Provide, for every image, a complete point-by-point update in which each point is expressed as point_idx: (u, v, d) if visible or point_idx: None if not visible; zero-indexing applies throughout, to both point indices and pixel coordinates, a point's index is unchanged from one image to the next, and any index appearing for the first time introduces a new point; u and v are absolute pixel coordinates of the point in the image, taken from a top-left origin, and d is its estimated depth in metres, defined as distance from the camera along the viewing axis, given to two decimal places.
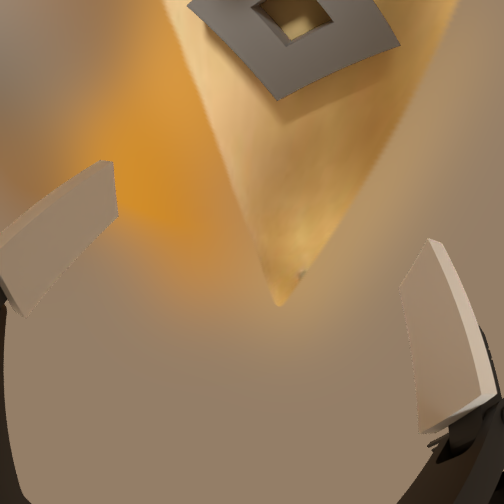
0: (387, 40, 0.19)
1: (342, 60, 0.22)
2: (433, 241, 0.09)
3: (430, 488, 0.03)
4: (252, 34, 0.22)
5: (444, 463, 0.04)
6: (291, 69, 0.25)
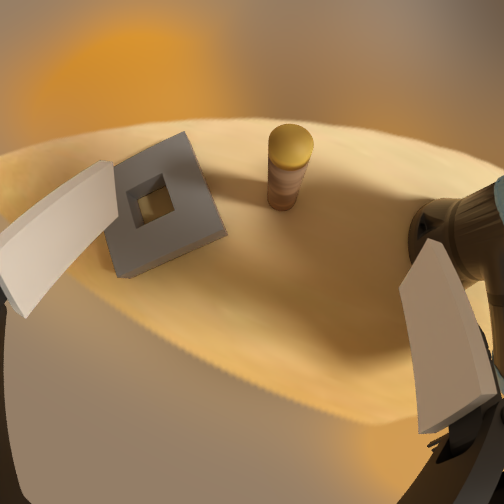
0: (120, 267, 0.35)
1: (109, 231, 0.35)
2: (433, 241, 0.09)
3: (430, 488, 0.03)
4: (141, 170, 0.36)
5: (444, 463, 0.04)
6: None
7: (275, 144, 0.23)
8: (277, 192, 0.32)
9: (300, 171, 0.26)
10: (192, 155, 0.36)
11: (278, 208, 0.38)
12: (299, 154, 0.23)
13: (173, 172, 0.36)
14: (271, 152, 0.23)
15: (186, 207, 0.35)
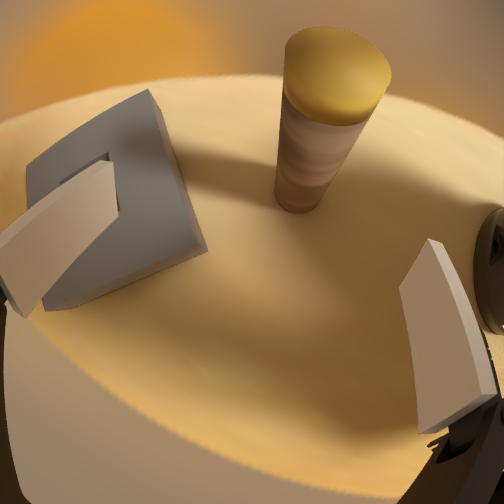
0: (48, 297, 0.20)
1: None
2: (433, 241, 0.09)
3: (430, 488, 0.03)
4: (82, 149, 0.21)
5: (444, 463, 0.04)
6: (41, 184, 0.21)
7: (302, 57, 0.08)
8: (296, 180, 0.16)
9: (355, 132, 0.10)
10: (154, 122, 0.21)
11: (292, 209, 0.22)
12: (363, 82, 0.08)
13: (124, 149, 0.21)
14: (292, 74, 0.08)
15: (138, 205, 0.20)
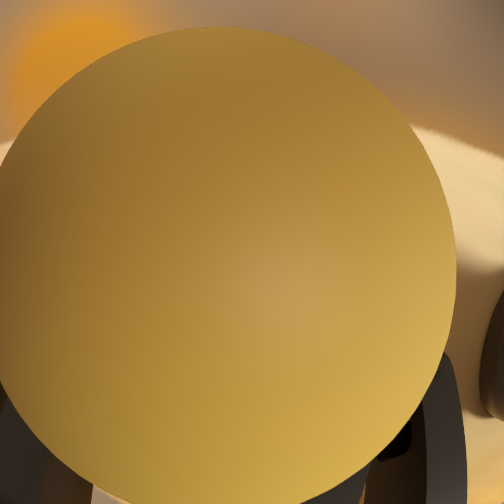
0: None
1: None
2: None
3: None
4: None
5: None
6: None
7: (2, 286, 0.02)
8: None
9: None
10: None
11: None
12: (247, 459, 0.01)
13: None
14: None
15: None
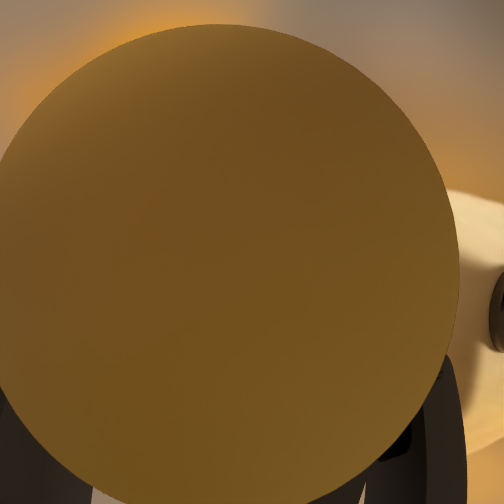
0: None
1: None
2: None
3: None
4: None
5: None
6: None
7: None
8: None
9: None
10: None
11: None
12: (247, 462, 0.01)
13: None
14: None
15: None
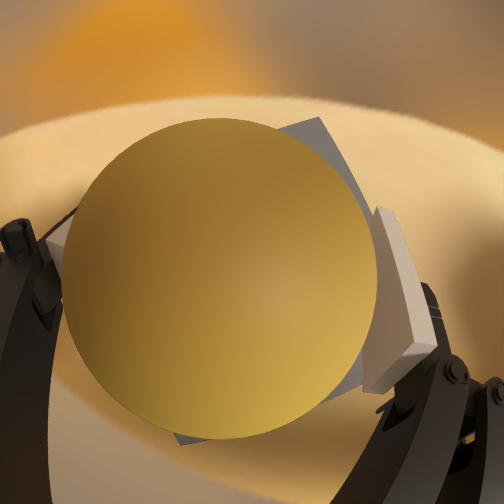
0: None
1: None
2: (382, 209, 0.10)
3: (375, 460, 0.04)
4: None
5: (389, 431, 0.05)
6: None
7: (92, 295, 0.03)
8: None
9: None
10: (350, 176, 0.15)
11: None
12: (257, 389, 0.03)
13: None
14: None
15: None
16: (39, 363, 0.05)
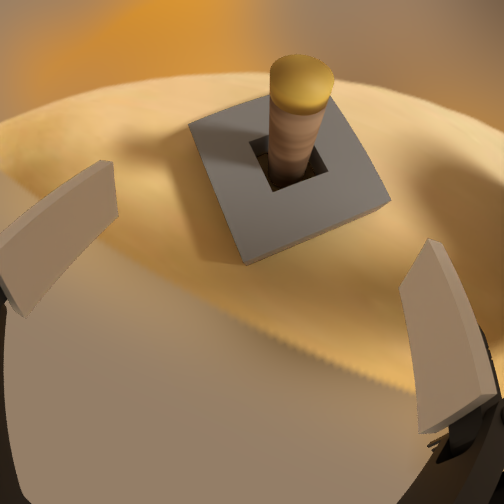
0: (249, 246, 0.25)
1: (225, 193, 0.26)
2: (433, 241, 0.09)
3: (430, 488, 0.03)
4: None
5: (444, 463, 0.04)
6: (221, 142, 0.27)
7: (280, 76, 0.14)
8: (281, 157, 0.23)
9: (315, 119, 0.17)
10: (338, 109, 0.27)
11: (281, 184, 0.29)
12: (315, 88, 0.14)
13: None
14: (274, 86, 0.15)
15: (343, 169, 0.26)
16: None
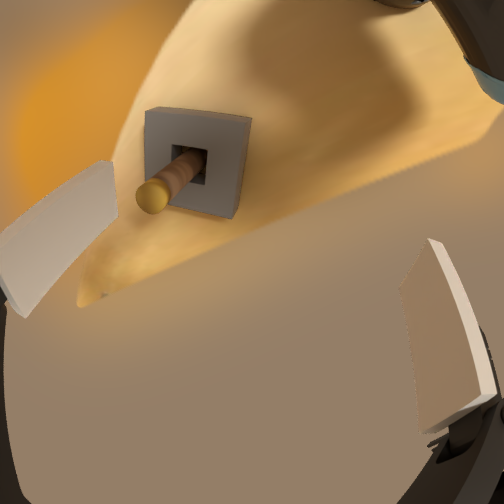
0: (226, 212, 0.45)
1: (194, 206, 0.45)
2: (433, 241, 0.09)
3: (430, 488, 0.03)
4: (160, 158, 0.41)
5: (444, 463, 0.04)
6: None
7: (147, 209, 0.32)
8: None
9: (173, 190, 0.33)
10: (170, 114, 0.36)
11: None
12: (159, 201, 0.31)
13: (176, 135, 0.38)
14: None
15: (210, 139, 0.38)
16: None
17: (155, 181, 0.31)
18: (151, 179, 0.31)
